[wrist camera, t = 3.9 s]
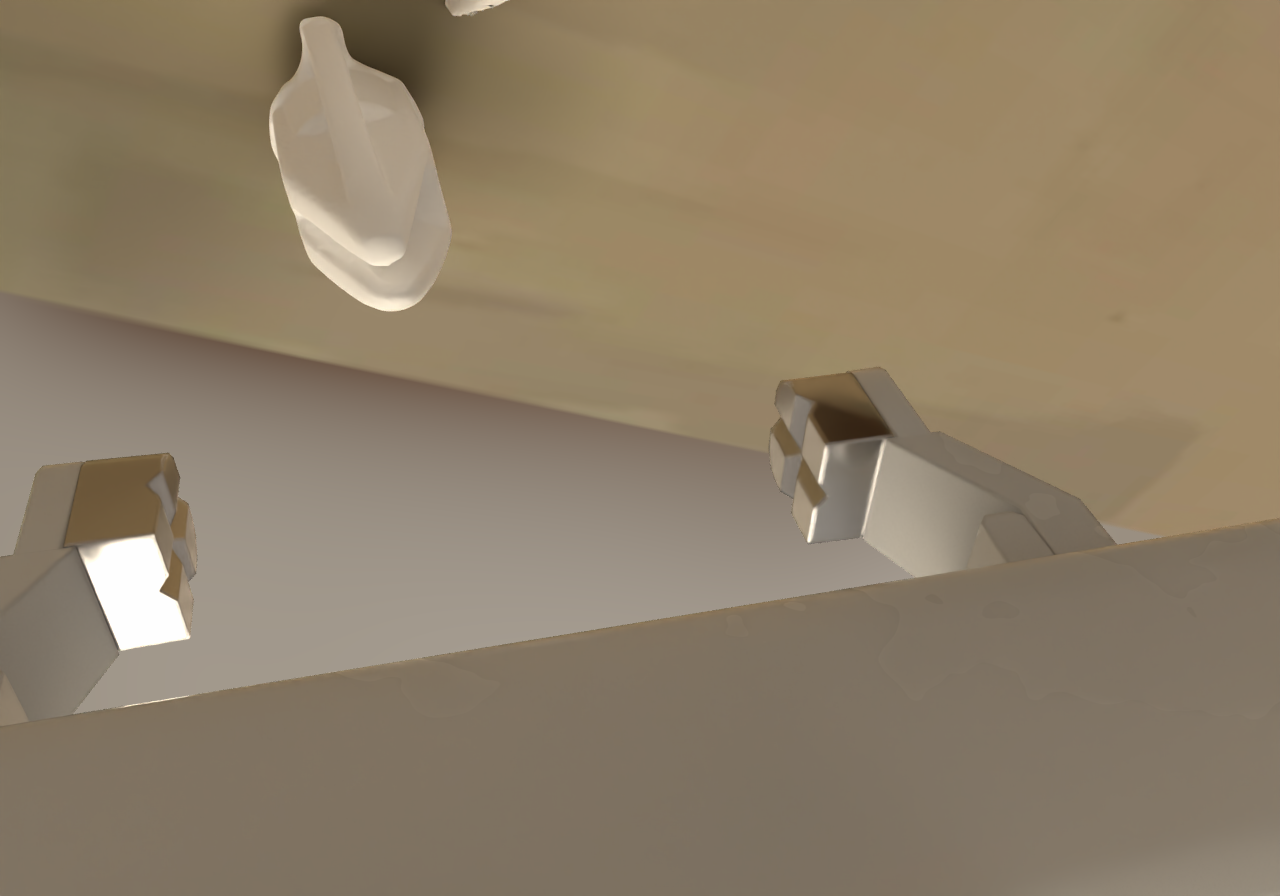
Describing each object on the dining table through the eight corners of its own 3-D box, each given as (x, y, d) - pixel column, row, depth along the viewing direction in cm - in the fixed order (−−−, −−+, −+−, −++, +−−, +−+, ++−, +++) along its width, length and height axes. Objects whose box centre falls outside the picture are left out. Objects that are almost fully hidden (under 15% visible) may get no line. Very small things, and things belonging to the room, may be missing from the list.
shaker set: (386, 221, 33) (421, 455, 24) (242, 173, 31) (228, 410, 22) (555, -192, 27) (676, -68, 19) (391, -284, 25) (446, -189, 17)
